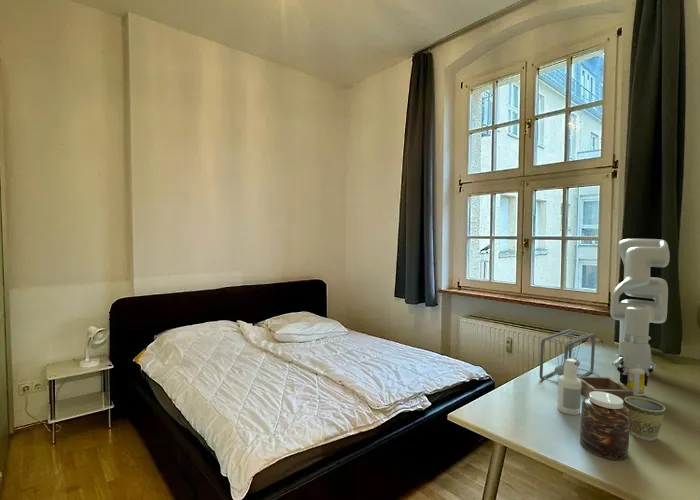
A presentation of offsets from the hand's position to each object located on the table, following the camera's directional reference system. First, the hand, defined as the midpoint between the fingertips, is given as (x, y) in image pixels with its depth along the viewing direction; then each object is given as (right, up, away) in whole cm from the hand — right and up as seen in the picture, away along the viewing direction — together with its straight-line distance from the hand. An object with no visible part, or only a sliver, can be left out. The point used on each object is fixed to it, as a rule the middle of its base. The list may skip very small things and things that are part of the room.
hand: (633, 383), depth 147 cm
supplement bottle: (0, -4, 0) cm, 4 cm away
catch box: (-14, -4, -3) cm, 15 cm away
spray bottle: (-34, -4, -15) cm, 37 cm away
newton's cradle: (-16, -3, +17) cm, 24 cm away
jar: (-37, -5, -38) cm, 53 cm away
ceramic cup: (-19, -5, -30) cm, 36 cm away
